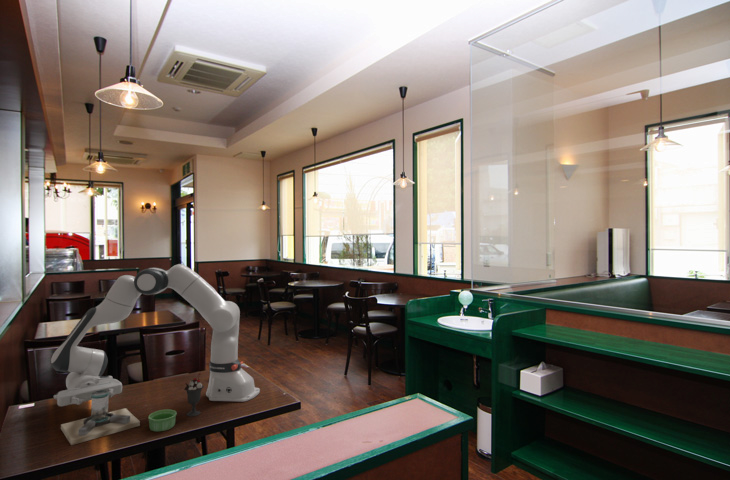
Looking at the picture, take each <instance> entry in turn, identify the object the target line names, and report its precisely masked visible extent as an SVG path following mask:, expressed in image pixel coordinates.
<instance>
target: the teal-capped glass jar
mask: <svg viewBox="0 0 730 480" xmlns="http://www.w3.org/2000/svg"><path fill="white" fill-rule="evenodd" d="M108 395H109V391H108V390H100V391H96V392H93V393H92V394H91V398H92V400H90V401H91V402H90V403H91V404H90V405H91V408H90V409H91V410H90V413H91V415H90V416H91V421H95V423H99V422H103V421H107V420H108V412H109V398H108Z"/></svg>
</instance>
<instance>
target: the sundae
mask: <svg viewBox="0 0 730 480" xmlns="http://www.w3.org/2000/svg"><path fill="white" fill-rule="evenodd" d="M201 374H202V373H199V375H197V376H196V377H193V379H192V380H190V381H189V383H187V382H185V383H184V384H185V385H186V386H185V388H184V389H183V390H184V391H186V395H187V402H188V404H190V405H191V410H190V411H189V412H187V413H186V416H187V417H192V418H193V417H196V416H199V415H201V413H202V412H201V411H200V410H197V409H196V408H197V407H196V405H197V404H199V402H200V401H201V400H200V399H201V393H202V390H203V388H205V386H204V385H203V384H202V382H201V380H200V375H201ZM197 378H198V379H197Z"/></svg>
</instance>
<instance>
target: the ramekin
mask: <svg viewBox="0 0 730 480" xmlns="http://www.w3.org/2000/svg"><path fill="white" fill-rule="evenodd" d="M176 416H177V410H174V409H171V408H169V409H168V408H167V409H166V408H165V409H160V410H156V411H153V412H152V413H150V414H149V415H148V425H149V430H150V431H152V432H164V431H168V430H170V429H172V428H173V427H175V425H176Z"/></svg>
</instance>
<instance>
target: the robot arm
mask: <svg viewBox="0 0 730 480" xmlns="http://www.w3.org/2000/svg"><path fill="white" fill-rule="evenodd" d="M168 289H172V290H174V291H175V292H176V293H177V294H178V295H180V296H181V297H182V298H183V299H184V300H185V301H187V302H188V303H189V304H190V305H191V306H192V307H193V308H195V310H197V312H198V313H199V314H200V315H201V317H202V318H203V319H204V320H205V321H206V322H207V323H208V324H209V326H210V327H211V328H212V337H211V342H210V360H209V369H208V370H209V380H208V386H207V389H206V392H205V396H206V397H207V398H208V400H209V401H212V402H248V401H250V400H252V399H254V398H255V397H257V396H258V395H259V394H260V393H261V390H260V388H259V387H256V386H255V380H254V377H253V376H251V375H250V374H249V373H248V372H247V371H245V369H243V368H242V366H241V365H243V364H244V361H240V360H239V358H238V353H239V352H238V351H239V350H238V349H239V345H238V344H239V334H240V332H239V331H240V317H241V315H240V314H241V311H240V307H239V306H238V304H237V303H235V302H234V301H230V300H225V299H224V298H223V297H222V296H221V295H220V294H219V293H218V292H217V290H216V289H215V288H214V287H213V286H212V285H211V284H209V282H208V281H206V280H205V279H204V278H203V277H201V275H199V274H198V273H197V272H196V271H194V270H193V269H192V268H190V267H188V266H187V265H184V264H182V263H178V264H175V265H173V266H172V267H170V268H169V269H164V268H161V267H149V268H145V269H142V270H140V271H139V272H138V273H137V274H136V276H133V275H130V274H129V275H128V274H125V275H121V276H119V277H118V278H117V279H116V280H115V282H113V284H112V285H111V287H110V289H109V290H108V292H107V293H106V295H105V298H104V299H103V300H102V302H100V303H99V304H98V305H97V306H95V307H91V308H89V309H88V310H87V311H86V312H85V313H84V315H82V317H81V318H80V319H79V321H78V322H77V324H76V325H75V326H74V328H72V330H71V332H69V334H68V336H66V338H65V340H63V342H62V343H61V344H60V345H59V346H58V347H57V348H56V350H54V352H53V353H52V357H51V359H50V364H51V367H52V368H53V369H54V371H56V372H64V373H65V372H66V373H67V372H69V373H68V374H67V376H66V378H65V386H66V389H65V390H60V391H58V392H57V394H54V395H53V398H54V400H56V401H57V402H56V403H57V406H58V407H65V406H71V405H82V404H83V402H88V401H92V398H91V394H92V393H93V392H96V391H100V390H108V391H109V395H108V399H109V398H113V397H114V396H115V395H118V394H122V393H123V384H122V382H121V381H120V380H118V379H116V378H113V376H112V375H105V376H104V375H103V374H104V373H105V371H106V369H107V365H108V363H109V360H108V356H107V353H106V351H104V350H102V349H96V348H89V347H83V346H79V344H80V342H81V341H82V340H83V338H84V337H85V336H86V334H87V333H88V332H89V330H91V329H92V328H94V327H96V326H101V325H108V324H109V325H110V324H115V323H119V322H122V321H123V320H126V319H127V318H128V317H129V316H130V314H131V312H132V311H133V309H134V307H135V305H136V303H137V301H138V299H139V297H141V295H146V296H151V295H157V294H160V293H162V292H164V291H167V290H168Z"/></svg>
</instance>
